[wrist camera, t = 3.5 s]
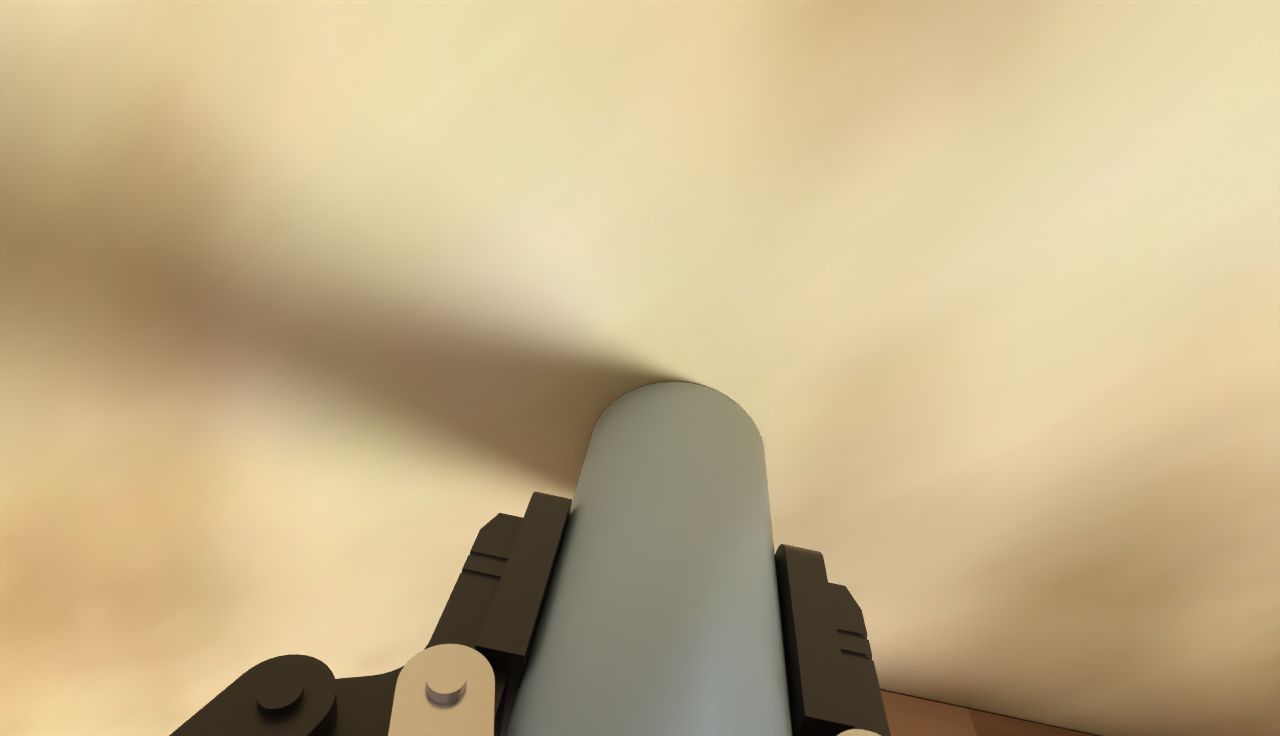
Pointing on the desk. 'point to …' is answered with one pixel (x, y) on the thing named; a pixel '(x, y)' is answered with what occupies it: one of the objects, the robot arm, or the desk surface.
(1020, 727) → the socket block
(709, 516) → the peg
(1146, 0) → the desk surface
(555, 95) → the desk surface
